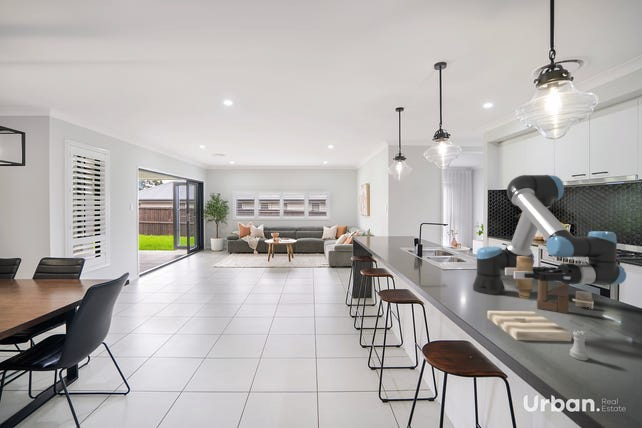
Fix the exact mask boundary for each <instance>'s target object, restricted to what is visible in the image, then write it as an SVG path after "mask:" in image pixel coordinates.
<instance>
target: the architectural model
mask: <svg viewBox="0 0 642 428" xmlns="http://www.w3.org/2000/svg"><path fill="white" fill-rule="evenodd" d="M592 295H593V293H592V292H591V291H582V290H581V291H580V290H576V291H575V298H572V301H574V302H575V307H579V306H580V308H586V309H592V310H594V304H595V302H594V299H593V297H592ZM587 307H589V308H587Z"/></svg>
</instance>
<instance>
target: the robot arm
mask: <svg viewBox="0 0 642 428" xmlns="http://www.w3.org/2000/svg"><path fill="white" fill-rule="evenodd" d="M564 193H565V186H564V183H563V180H562V179H561V178H560V177H559V176H557V175H551V174H542V175H541V174H535V175H532V174H524V175H523V174H522V175H519V176H516V177H514V178H513V179H511V181H509V184H508V185H507V189H506V194H507V195H506V196H507V197H508V199H509V200H510V202H511V203H512V204H513V205H514V206H517V207H519V209H520V210H521V211H522V212H521V214H520V217H519V220H518V222H517V226H516V228H515V231H514V233H513V236H512V240H511V242H509V243H506V246H505V248H504V249H502V247H501V246H500V247H499V246H483V247H480V248H478V249H477V252H476V276H475V279H474V280H473V283H472V289H473V290H474V291H475V292H477V293H481V294H487V295H504V294H505V293H506V287H505V284H504V281H503V278H502V272H504V275H505V276H513V279H514V280H516V279H533V280H536V281H538V279H540V281H548V282H561V283H564V284H569V285H581V286H585V285H606V286H610V285H611V286H612V285H620V284H622V283H624V282H625V281H626V278H627V272H625V268H624V267H623V265H620V264H618V262H617V245H618V243H617V242H618V241H617V234H616V233H615V232H613V231H603V230H601V231H599V230H596V231H595V230H594V231H589V232H588V233H587V234H588V235H587V236H574V235H573V234H572V233H571V232H570V231H569V230H568V229H567V228H566V227H565V226H564V225H563V224H562V222H561V221H559V219H557V217H555V215H554V214H553V213H552V212H551V211H550V210H549V208H550V207H551V208H552V205H553V203H554V201H558V200H560V199H561V198H562V197H563V196H564ZM537 231H538V232H540V234H541V235H542V236H543V237H544V239H546V242H545V248H546V249H547V250H546V251H547V253H548V254H549V255H550V256H552V257H555V258H565V259H566V258H587V259H588V263H585V262H584V263H582V262H581V263H567V262H566V263H565V262H564V263H561V264H559V265H558V267H554V266H550V267H547V266H545V265H544V266H533V271H517V256H526V257H532V258H533V265H535V255H534V253H533V251H532V249H531V246H532V245H533V242H534V239H535V237H536V234H537Z"/></svg>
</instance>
